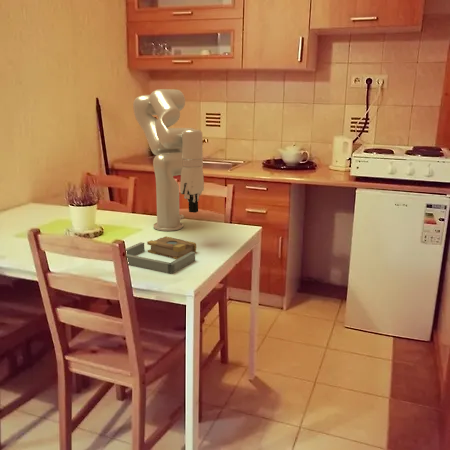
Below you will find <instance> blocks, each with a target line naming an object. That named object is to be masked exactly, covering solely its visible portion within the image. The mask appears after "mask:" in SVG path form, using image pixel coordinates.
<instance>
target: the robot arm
mask: <svg viewBox="0 0 450 450" xmlns="http://www.w3.org/2000/svg"><path fill="white" fill-rule="evenodd" d="M132 105H133V113H134V117H135V120H136V122H137V123H138V125H139V126H140V128H141V129H142V131H143V134H144V136H145V138H146V140H147V143H148V146H149V148H150V151H151V152H152V154H153V155H155V156H154V158H153V161H152V166H153V171H154V176H155V188H156V189H155V193H156V223H154V224H153V229H155V230H157V231H162V232H163V231H164V232H174V231H178V230H181V229H183V228H184V224H183V222H181V220H183V219H184V218H185V215H184V214H180V194H181V195H184V196H183V197H184V199H186V200H187V202H188V212H189V213H193V214H196V213H199V201H200V196H201V195H202V193H203V191H204V189H205V180H204V179H205V178H204V170H203V168H204V165H203V164H204V160H203V159H204V157H203V156H204V155H203V153H204V152H203V151H204V150H203V148H204V147H203V132H202V130H200V129H194V128H193V127H172V126H174V125H175V124H176V123H177V122H178V121H179V120H180V118H181V112H180V111H182V110H183V109H184V107H185V105H186V98H185V95H184V92H182V91H181V90H180V89H177V88H176V89H173V88H172V89H169V88H162V89H160V88H158V89H154V90H153V91H152V92H151V93H150V94H143V95H139V96H137V97H135V99H134V100H133V103H132ZM154 116H157V117H158V118H156V117H154ZM175 176H180V185H179V184H178V182H177V180H176V179H175V178H174V177H175Z"/></svg>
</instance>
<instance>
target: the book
mask: <svg viewBox="0 0 450 450" xmlns="http://www.w3.org/2000/svg"><path fill="white" fill-rule="evenodd" d="M146 243H147V245H148V246H150V249H147V253H150V254H154V255H158V256H162V257H166V258H170V259H173V260H176V259H178V258H180V257H182V256H184V255H186V254H188V253H190V252H195V254H196V253H197V243H196V242H195V241H188V240H184V239H180V238H175V237H172V236H167V235H166V236H163V237H160V238H157V239H156V240H155V239H154V240H153V239H151V240H149V241H146Z"/></svg>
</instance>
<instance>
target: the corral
mask: <svg viewBox="0 0 450 450" xmlns="http://www.w3.org/2000/svg"><path fill="white" fill-rule="evenodd" d="M125 249H126V251H127V258H128V262H129V266H133V267H138V268H143V269H147V270H153V271H157V272H162V273H167V274H171V275H172V274H174V273H177V271H179V270H181V269H183V268H184V267H187V266H188V265H189V264H192V263H193V262H195V261H196V253H195V252H190V253H188V254H186V255H184V256H182V257H180V258H178V259H174V260H173V261H171V262H168V261H163V260H158V259H154V258H149V257H143V256H139V255H138V254H141V253H142V252H143V253H144V252H145V242H141V241H140V242H138V243H136V244H134V245H132V246H129V247H126V248H125Z"/></svg>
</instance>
